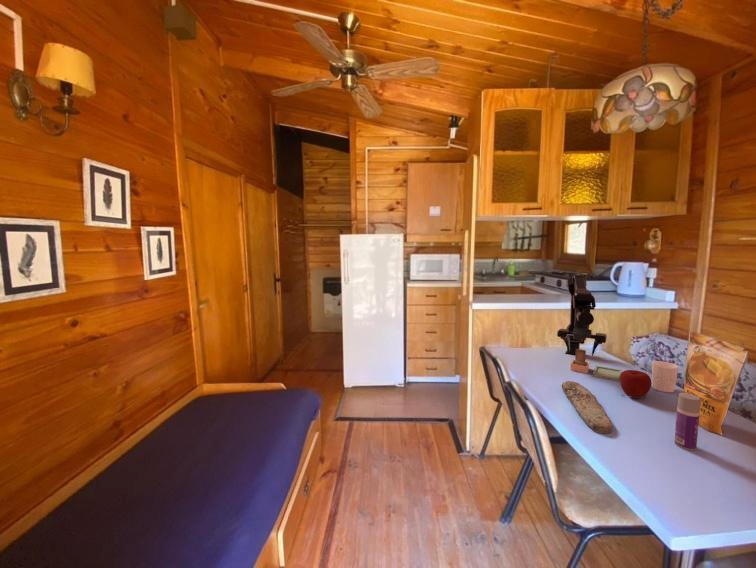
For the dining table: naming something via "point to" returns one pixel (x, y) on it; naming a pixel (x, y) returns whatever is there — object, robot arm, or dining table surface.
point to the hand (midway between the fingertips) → (580, 353)
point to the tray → (607, 373)
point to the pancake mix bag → (712, 376)
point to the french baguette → (587, 407)
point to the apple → (635, 383)
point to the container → (687, 421)
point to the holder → (580, 367)
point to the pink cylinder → (664, 376)
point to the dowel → (580, 357)
